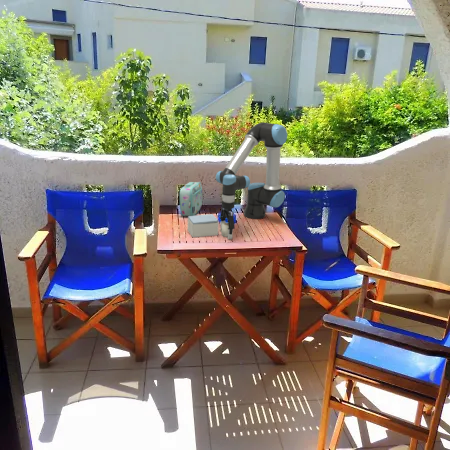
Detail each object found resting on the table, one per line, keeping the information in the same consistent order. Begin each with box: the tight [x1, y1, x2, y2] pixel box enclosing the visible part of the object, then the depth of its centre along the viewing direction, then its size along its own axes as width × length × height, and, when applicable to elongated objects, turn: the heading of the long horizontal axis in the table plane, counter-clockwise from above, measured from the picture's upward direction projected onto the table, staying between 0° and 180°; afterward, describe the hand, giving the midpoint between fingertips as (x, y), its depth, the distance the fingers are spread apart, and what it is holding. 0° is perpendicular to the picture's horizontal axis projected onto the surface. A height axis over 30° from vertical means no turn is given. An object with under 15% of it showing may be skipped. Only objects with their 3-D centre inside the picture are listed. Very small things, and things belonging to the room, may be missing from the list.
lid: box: [187, 213, 219, 224], centre depth 254 cm, size 16×12×1 cm
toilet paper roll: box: [220, 222, 229, 238], centre depth 254 cm, size 6×6×7 cm
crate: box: [186, 217, 220, 238], centre depth 256 cm, size 16×12×8 cm
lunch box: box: [179, 181, 203, 217], centre depth 288 cm, size 27×10×21 cm, turn 168°
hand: (226, 234), depth 255 cm, fingers open, 12 cm apart
